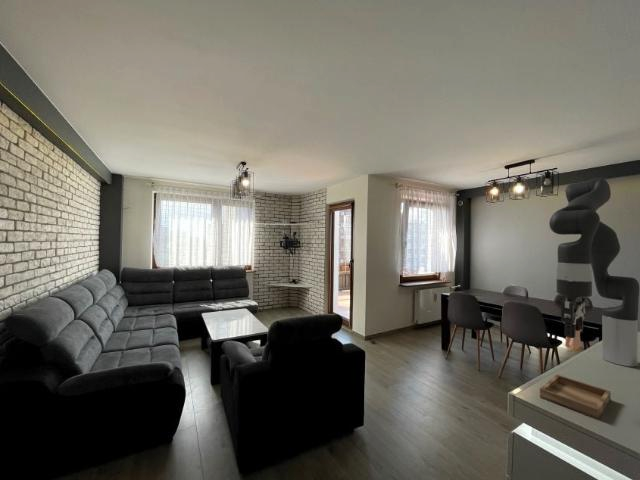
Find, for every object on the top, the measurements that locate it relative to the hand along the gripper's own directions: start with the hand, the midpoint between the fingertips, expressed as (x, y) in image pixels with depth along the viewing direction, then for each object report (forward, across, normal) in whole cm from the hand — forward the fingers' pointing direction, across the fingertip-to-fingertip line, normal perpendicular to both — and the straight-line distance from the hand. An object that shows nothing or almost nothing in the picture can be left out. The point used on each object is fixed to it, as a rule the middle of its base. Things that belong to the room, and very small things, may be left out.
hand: (573, 334), depth 78 cm
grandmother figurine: (+5, 0, 0) cm, 5 cm away
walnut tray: (+19, -1, 0) cm, 19 cm away
